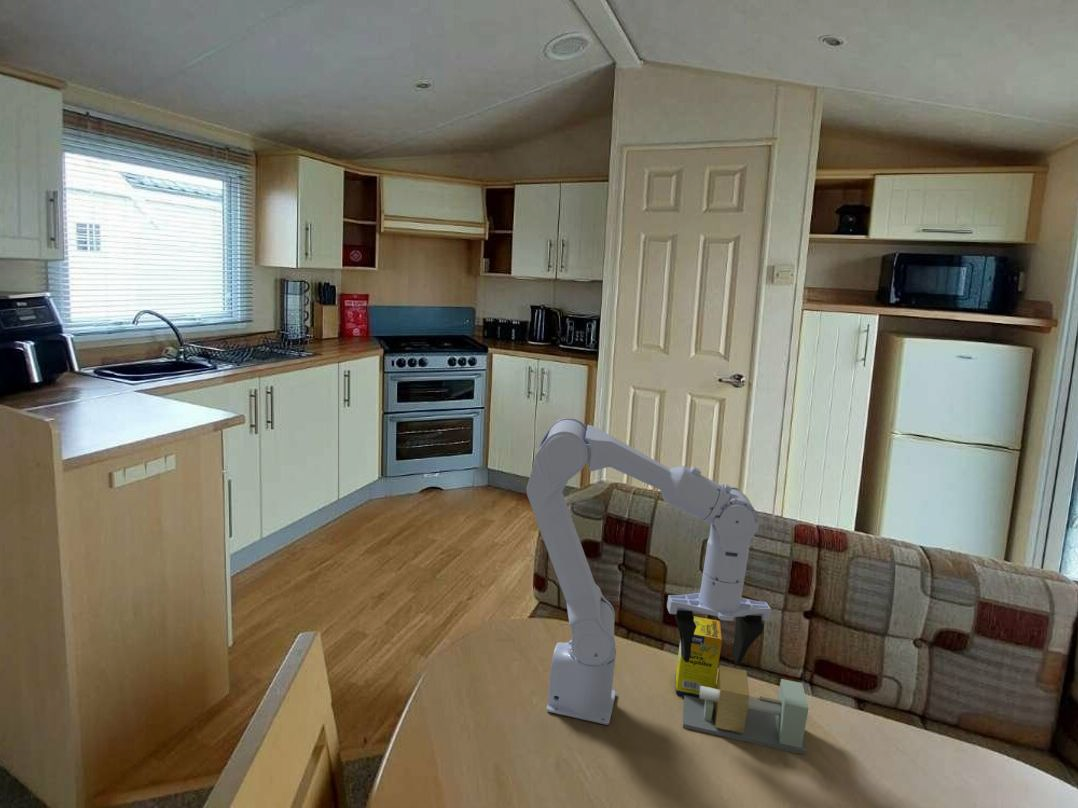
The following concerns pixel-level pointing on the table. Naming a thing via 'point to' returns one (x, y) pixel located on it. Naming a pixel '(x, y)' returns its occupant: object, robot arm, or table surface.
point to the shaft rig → (756, 717)
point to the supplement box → (700, 659)
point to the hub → (731, 699)
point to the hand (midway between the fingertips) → (710, 659)
